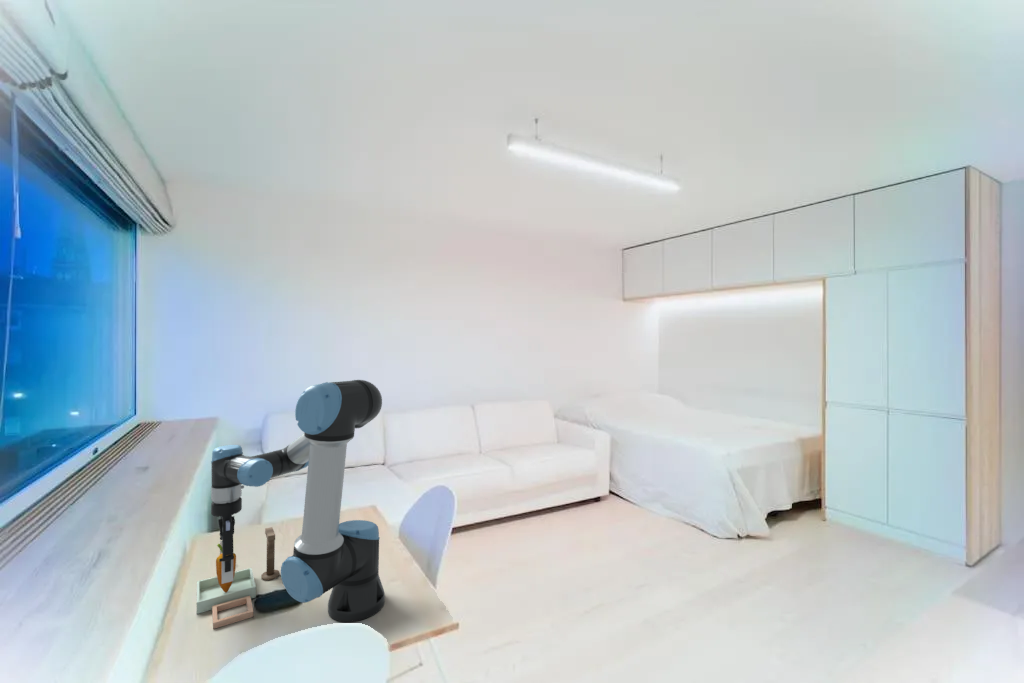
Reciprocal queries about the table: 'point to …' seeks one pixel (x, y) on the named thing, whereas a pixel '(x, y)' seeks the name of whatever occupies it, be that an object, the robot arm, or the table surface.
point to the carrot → (227, 585)
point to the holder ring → (232, 618)
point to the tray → (214, 595)
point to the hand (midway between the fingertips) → (226, 571)
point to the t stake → (270, 556)
